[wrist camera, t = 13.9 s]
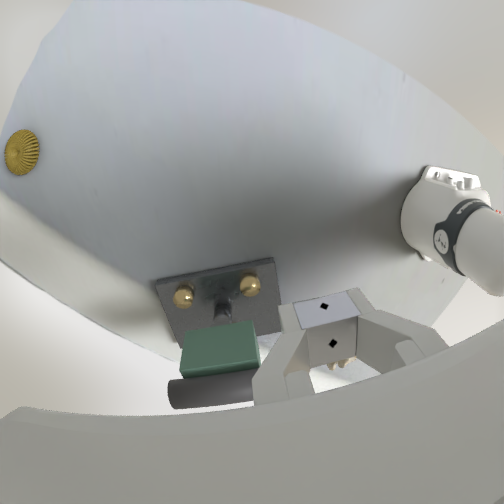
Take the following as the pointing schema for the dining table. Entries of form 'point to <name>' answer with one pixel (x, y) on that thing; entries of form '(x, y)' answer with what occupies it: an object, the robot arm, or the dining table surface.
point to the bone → (340, 363)
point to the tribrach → (223, 298)
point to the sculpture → (21, 152)
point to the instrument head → (216, 366)
